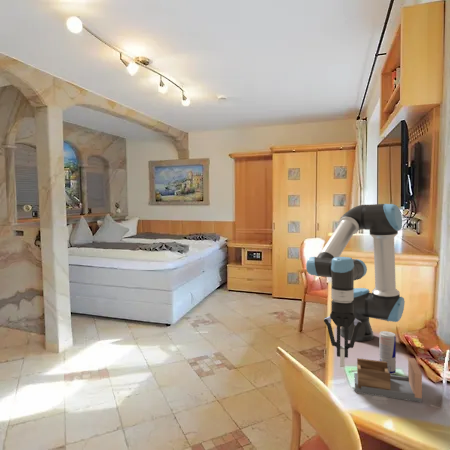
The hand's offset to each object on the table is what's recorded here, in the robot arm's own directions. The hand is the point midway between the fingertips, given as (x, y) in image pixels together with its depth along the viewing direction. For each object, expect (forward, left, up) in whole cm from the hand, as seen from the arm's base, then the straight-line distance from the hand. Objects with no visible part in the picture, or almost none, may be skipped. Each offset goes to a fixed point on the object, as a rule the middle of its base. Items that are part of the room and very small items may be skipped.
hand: (342, 365), depth 122 cm
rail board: (0, +14, -6) cm, 15 cm away
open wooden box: (0, +10, -5) cm, 11 cm away
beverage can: (-13, +16, -6) cm, 22 cm away
